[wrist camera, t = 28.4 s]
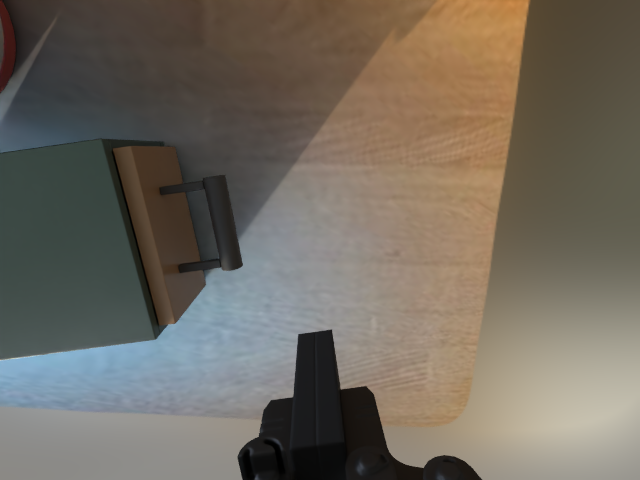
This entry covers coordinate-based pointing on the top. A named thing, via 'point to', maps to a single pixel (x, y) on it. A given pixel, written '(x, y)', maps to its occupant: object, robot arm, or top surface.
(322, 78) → the top surface
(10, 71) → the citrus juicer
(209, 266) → the drawer
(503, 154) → the top surface
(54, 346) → the cabinet
